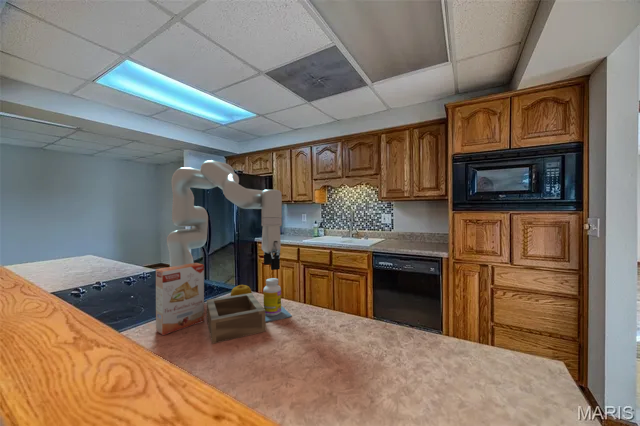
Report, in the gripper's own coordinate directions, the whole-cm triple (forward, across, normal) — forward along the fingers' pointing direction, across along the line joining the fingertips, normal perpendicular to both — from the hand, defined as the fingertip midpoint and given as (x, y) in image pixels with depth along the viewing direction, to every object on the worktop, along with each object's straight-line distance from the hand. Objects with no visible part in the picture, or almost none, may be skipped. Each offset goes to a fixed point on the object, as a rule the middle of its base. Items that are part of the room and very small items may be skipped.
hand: (271, 266), depth 99 cm
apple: (+19, -14, -8) cm, 25 cm away
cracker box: (+19, -5, -30) cm, 36 cm away
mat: (+18, +1, 0) cm, 18 cm away
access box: (+18, +3, -14) cm, 23 cm away
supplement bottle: (+18, 0, 0) cm, 18 cm away
